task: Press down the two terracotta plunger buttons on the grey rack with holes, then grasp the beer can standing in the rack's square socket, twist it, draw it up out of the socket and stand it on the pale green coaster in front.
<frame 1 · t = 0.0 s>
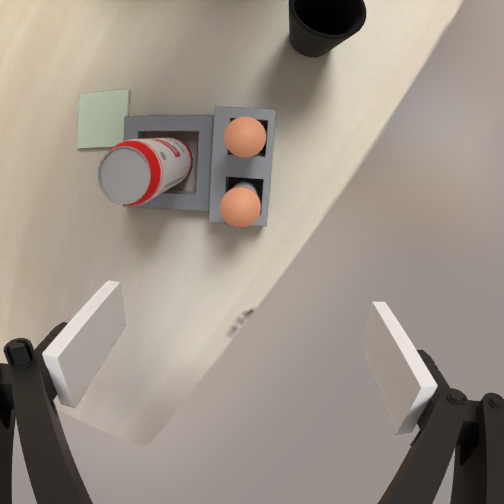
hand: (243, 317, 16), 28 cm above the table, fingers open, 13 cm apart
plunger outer: (242, 200, 36), point 7 cm above the table, slide at 0.0 cm
cup: (310, 38, 35), on the table
plunger inner: (246, 137, 33), point 7 cm above the table, slide at 0.0 cm
beer can: (171, 160, 41), resting in grey rack with holes
coaster: (103, 119, 38), on the table
grey rack with holes: (171, 160, 41), on the table
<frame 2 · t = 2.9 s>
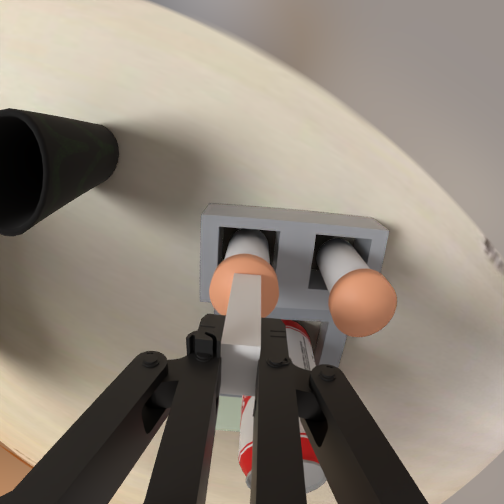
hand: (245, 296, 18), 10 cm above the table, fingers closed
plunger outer: (348, 278, 21), point 7 cm above the table, slide at 0.0 cm
cup: (92, 154, 25), on the table
plunger inner: (246, 266, 22), point 6 cm above the table, slide at 1.0 cm, touching gripper
beer can: (277, 338, 31), resting in grey rack with holes
coaster: (215, 406, 35), on the table
grey rack with holes: (277, 340, 31), on the table
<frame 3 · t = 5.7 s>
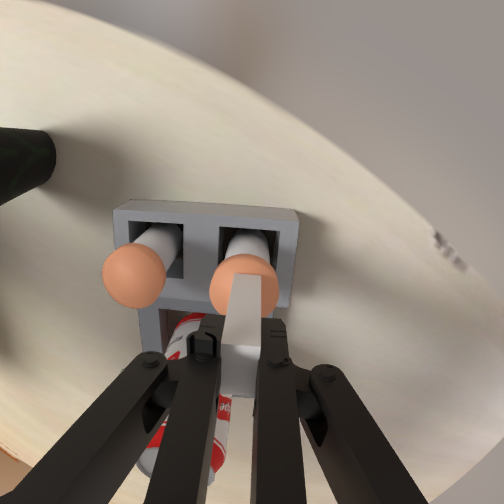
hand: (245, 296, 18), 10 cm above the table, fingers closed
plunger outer: (246, 266, 22), point 6 cm above the table, slide at 0.9 cm, touching gripper
cup: (36, 157, 25), on the table
plunger inner: (150, 256, 23), point 5 cm above the table, slide at 1.3 cm
beer can: (207, 333, 31), resting in grey rack with holes
grey rack with holes: (206, 334, 31), on the table
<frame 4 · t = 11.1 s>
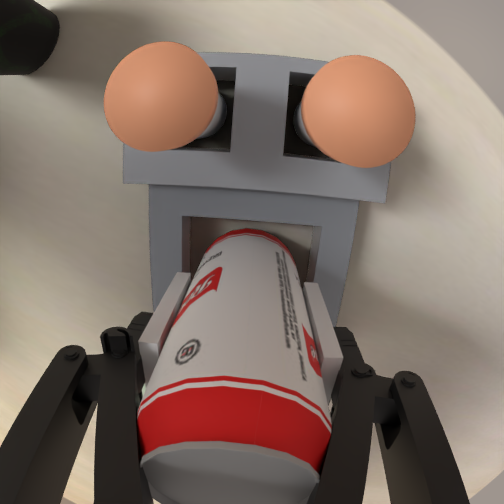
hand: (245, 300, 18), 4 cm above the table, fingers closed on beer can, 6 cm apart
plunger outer: (336, 116, 13), point 5 cm above the table, slide at 1.3 cm
cup: (33, 42, 16), on the table
plunger inner: (183, 105, 13), point 5 cm above the table, slide at 1.3 cm
beer can: (248, 267, 22), resting in grey rack with holes, touching gripper
grey rack with holes: (248, 268, 22), on the table
when the fingers open (6 cm above the table, at t = 18.3 s): beer can drops 1 cm, resting on coaster.
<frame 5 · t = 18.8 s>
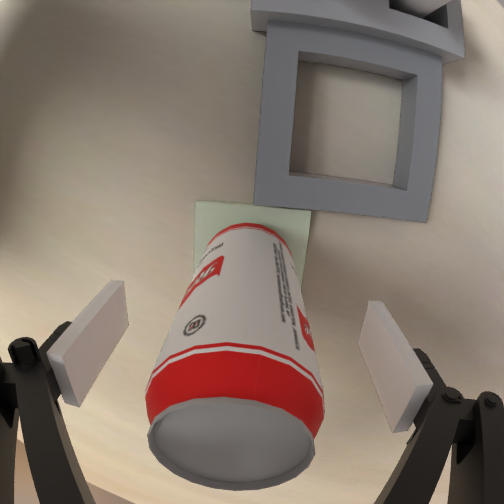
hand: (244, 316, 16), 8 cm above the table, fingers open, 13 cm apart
beer can: (248, 260, 23), resting on coaster
coaster: (249, 257, 24), on the table
grey rack with holes: (347, 121, 20), on the table
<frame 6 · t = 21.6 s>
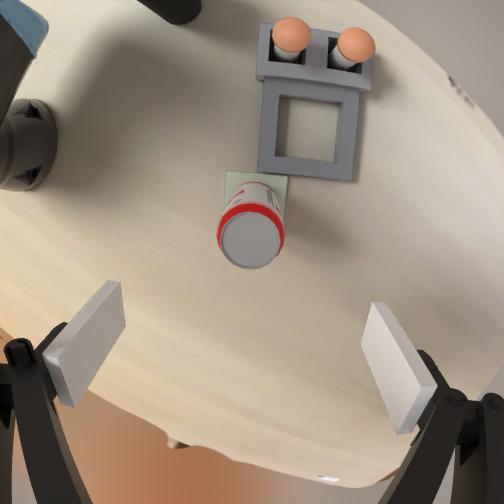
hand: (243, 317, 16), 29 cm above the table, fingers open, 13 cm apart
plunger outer: (348, 52, 31), point 5 cm above the table, slide at 1.3 cm
cup: (181, 8, 34), on the table
plunger inner: (288, 43, 31), point 5 cm above the table, slide at 1.3 cm
beer can: (253, 203, 43), resting on coaster
coaster: (254, 202, 43), on the table
grey rack with holes: (306, 128, 39), on the table
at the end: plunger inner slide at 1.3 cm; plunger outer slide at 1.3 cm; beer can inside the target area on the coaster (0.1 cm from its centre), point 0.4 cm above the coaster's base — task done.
